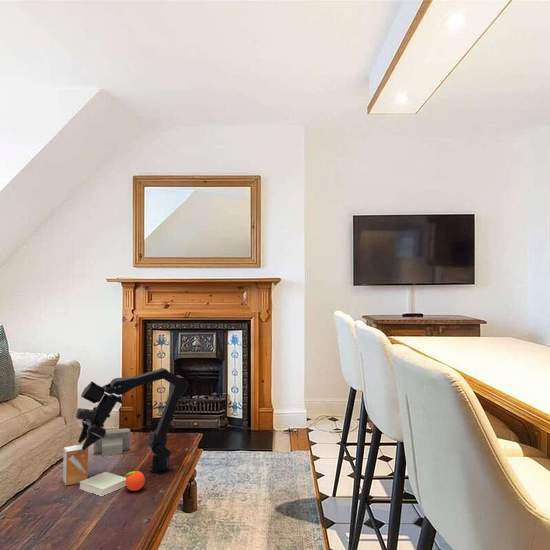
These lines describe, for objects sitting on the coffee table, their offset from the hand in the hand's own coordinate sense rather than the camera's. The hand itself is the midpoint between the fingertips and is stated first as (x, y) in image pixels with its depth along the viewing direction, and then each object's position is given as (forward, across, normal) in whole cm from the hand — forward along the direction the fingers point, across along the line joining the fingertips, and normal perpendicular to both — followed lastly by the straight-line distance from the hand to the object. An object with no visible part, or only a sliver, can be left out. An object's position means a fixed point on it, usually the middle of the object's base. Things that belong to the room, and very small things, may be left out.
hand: (81, 445), depth 185 cm
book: (+9, +7, +14) cm, 18 cm away
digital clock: (+3, -32, +24) cm, 40 cm away
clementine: (+4, +15, +22) cm, 27 cm away
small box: (+13, -5, +7) cm, 16 cm away
